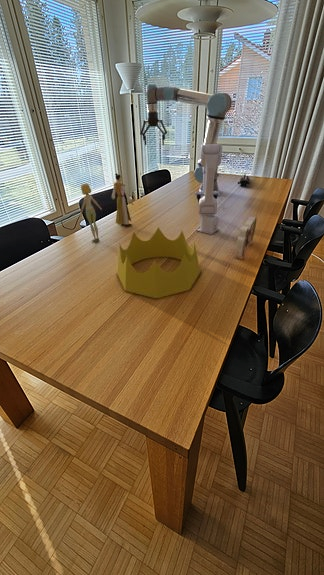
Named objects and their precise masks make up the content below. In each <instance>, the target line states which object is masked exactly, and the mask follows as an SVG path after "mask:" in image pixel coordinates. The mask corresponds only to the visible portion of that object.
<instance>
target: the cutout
mask: <svg viewBox="0 0 324 575" xmlns="http://www.w3.org/2000/svg"><path fill="white" fill-rule="evenodd" d="M257 221H258V217H257V216H249V217H248V219H247V220H246V222H245V224H244V226H241V227H240V229H239V232H238V233H239V234H238V237H237V241H236V247H235V259H240V260H242V259H243V258H244V257H245V252H246V250H247V249H248V247H249V246H250V245H252V243H253V241H254V237H255V234H256V228H257Z"/></svg>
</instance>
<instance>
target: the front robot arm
mask: <svg viewBox="0 0 324 575" xmlns="http://www.w3.org/2000/svg"><path fill="white" fill-rule="evenodd" d="M222 156H223V144H222V143H217V144H208V145H204V143H203V144H200V159H201V166H203V191H199V190H198V191H197V190H196V191H194V196H196V200H197V202H198V215H200V223H199V224H200V225H199V228H197V230H196V231H197V232H200V233H204V234H208V235H213V234H215V233H216V232H217V231H218V230H219V217H218V216H216V215H217V213H218V200H217V199H218V198H219V197H220V194H221V191H219V190H218V191H213V186H214V174H215V170H216V167H218V168H219V166H220V165H221V163H222ZM202 196H203V197H202ZM218 196H219V197H218Z"/></svg>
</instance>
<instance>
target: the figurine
mask: <svg viewBox="0 0 324 575" xmlns="http://www.w3.org/2000/svg"><path fill="white" fill-rule="evenodd" d="M114 175H115V180H116V181H115V182H113V188H112V193H111V196H110V197H111V200H116V217H115V223H116V224H117V225H118V226H124V228H125V227H127V228H128V227H130V226H132V219H131V214H130V211H129V207H128V203H130V204H131V205H132V206H134V202H133V200H132V199H131V197H130V195H129V192H128V191H127V189H126V185H125V184H124V183H123V182H122V177H121V174H118V173H115V174H114ZM116 195H117V197H116ZM125 196H126V197H125ZM130 222H131V223H130Z"/></svg>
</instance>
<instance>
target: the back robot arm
mask: <svg viewBox="0 0 324 575" xmlns="http://www.w3.org/2000/svg"><path fill="white" fill-rule="evenodd" d="M145 96H146V107H147V108H146V111H147V112H146V113H147V119H144V120H143V124H142V127H141V129H140V133H139V134H140V135H141V136H142V141H144V146H147V135H146V134H147V132H148V131H149V129H150V128H155V127H156V128H157V129H158V130H159V131H160V133H161V134H162V135H161V144H162V146H164V145H165V140H166V135H168V130H167V129H166V126H165V124H164V121H163V118H160V119H159V112H158V111H159V110H158V109H159V105H158V102H169V101H173V102H179V103H184V104H189V105H194V106H198V107H204V108H206V109H207V114H206V118H207V120H208V121H207V126H206V130H205V136H204V141H203V146H204V145H208V144H218V140H219V134H220V131H221V126H222V122H224V121H225V119H226V114H227V113H228V112H229V111H230V110H231V108H232V104H233V101H232V97H231V95H230V94H229V93H226V92H214V93H213V94H212V93H206V92H201V91H196V90H191V89H186V88H185V89H184V88H179V87H176V86H161V87H158V85H157V84H155V83H151V84H147V85H145ZM159 123H160V125H161V126H160V125H159ZM146 125H147V127H146ZM161 127H162V128H161ZM218 171H219V166H218V167H216V170H215V174H214V186H213V191H219V185H218V175H219V173H218ZM193 177H194V180H195V181H196V182H197V183H199V184H200V186H199V189H198V191H203V166H201V158H200V159H199V160H197V166H196V168H195V169H194V171H193Z"/></svg>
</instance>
